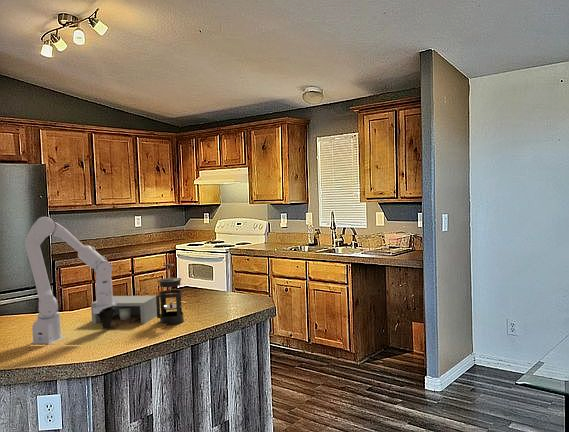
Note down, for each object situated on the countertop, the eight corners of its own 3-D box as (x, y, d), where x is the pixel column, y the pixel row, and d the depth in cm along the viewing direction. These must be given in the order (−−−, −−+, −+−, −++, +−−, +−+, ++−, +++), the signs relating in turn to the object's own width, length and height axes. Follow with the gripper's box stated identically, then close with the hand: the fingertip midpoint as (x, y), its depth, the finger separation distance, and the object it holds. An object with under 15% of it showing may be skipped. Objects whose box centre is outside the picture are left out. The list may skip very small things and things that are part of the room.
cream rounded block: (128, 320, 207) (127, 309, 207) (117, 320, 208) (117, 309, 207) (133, 317, 211) (132, 306, 211) (122, 317, 212) (122, 306, 212)
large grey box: (145, 325, 201) (143, 303, 201) (92, 325, 205) (90, 303, 204) (158, 316, 214) (157, 295, 214) (108, 316, 218) (107, 296, 217)
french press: (175, 317, 212) (172, 261, 210) (190, 320, 206) (187, 263, 204) (151, 324, 202) (148, 265, 201) (166, 327, 197) (163, 267, 195)
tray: (123, 330, 195) (122, 323, 195) (95, 330, 197) (95, 323, 197) (142, 318, 212) (141, 313, 212) (117, 318, 214) (116, 313, 214)
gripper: (105, 296, 185) (107, 333, 186) (123, 288, 200) (125, 322, 201) (86, 296, 187) (88, 333, 187) (106, 288, 201) (108, 322, 202)
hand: (106, 328), depth 194 cm, fingers closed
